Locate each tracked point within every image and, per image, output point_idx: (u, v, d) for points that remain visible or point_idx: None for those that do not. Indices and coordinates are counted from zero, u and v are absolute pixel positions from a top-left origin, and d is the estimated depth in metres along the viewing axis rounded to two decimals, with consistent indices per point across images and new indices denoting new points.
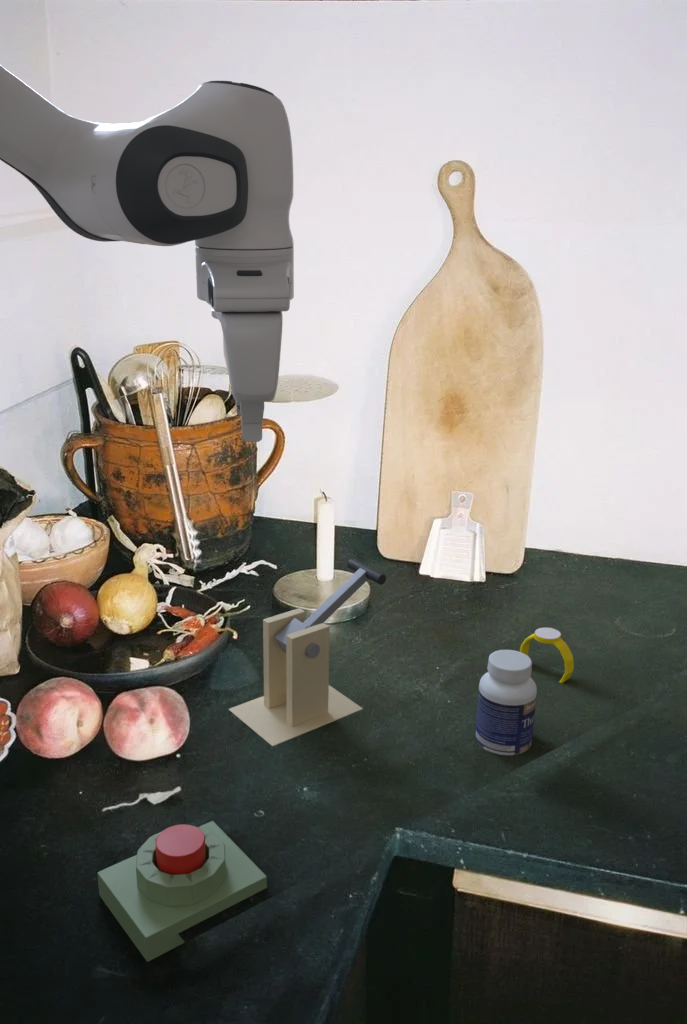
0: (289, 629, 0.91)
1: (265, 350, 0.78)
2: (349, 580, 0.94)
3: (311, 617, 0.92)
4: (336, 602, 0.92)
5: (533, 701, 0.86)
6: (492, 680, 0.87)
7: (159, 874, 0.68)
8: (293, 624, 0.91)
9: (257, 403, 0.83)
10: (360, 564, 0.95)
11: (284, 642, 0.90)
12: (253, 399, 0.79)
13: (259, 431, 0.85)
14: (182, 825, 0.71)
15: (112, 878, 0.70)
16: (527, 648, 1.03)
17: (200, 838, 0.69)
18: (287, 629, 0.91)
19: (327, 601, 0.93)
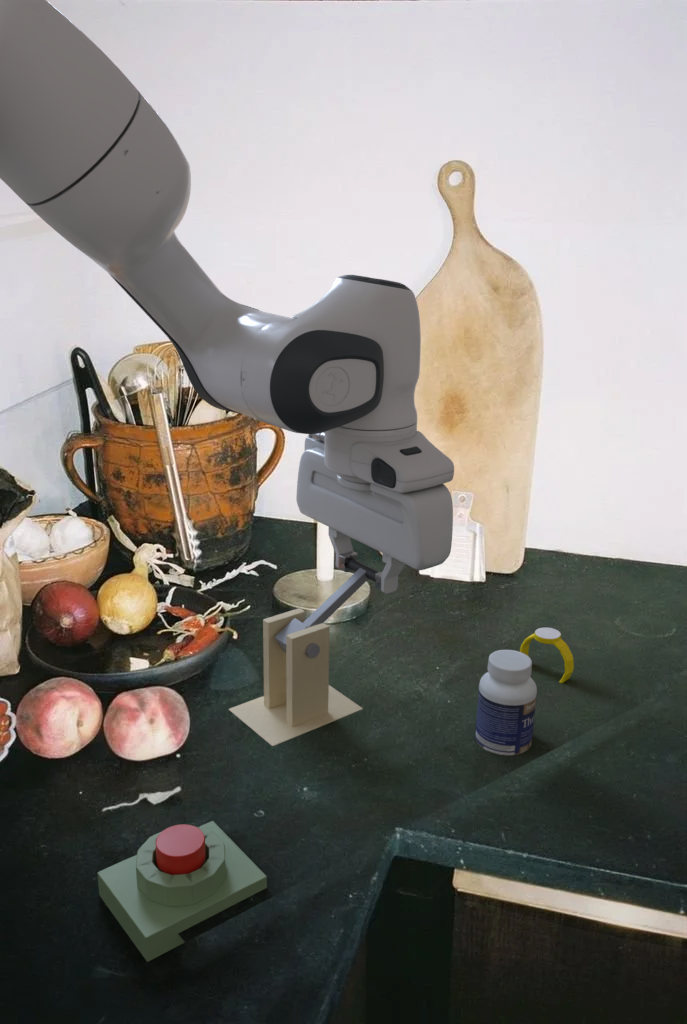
0: (289, 629, 0.91)
1: (444, 521, 0.85)
2: (349, 580, 0.94)
3: (311, 617, 0.92)
4: (336, 602, 0.92)
5: (533, 701, 0.86)
6: (492, 680, 0.87)
7: (159, 874, 0.68)
8: (293, 624, 0.91)
9: None
10: (360, 564, 0.95)
11: (284, 642, 0.90)
12: (433, 565, 0.86)
13: (396, 582, 0.92)
14: (182, 825, 0.71)
15: (112, 878, 0.70)
16: (527, 648, 1.03)
17: (200, 838, 0.69)
18: (287, 629, 0.91)
19: (327, 601, 0.93)
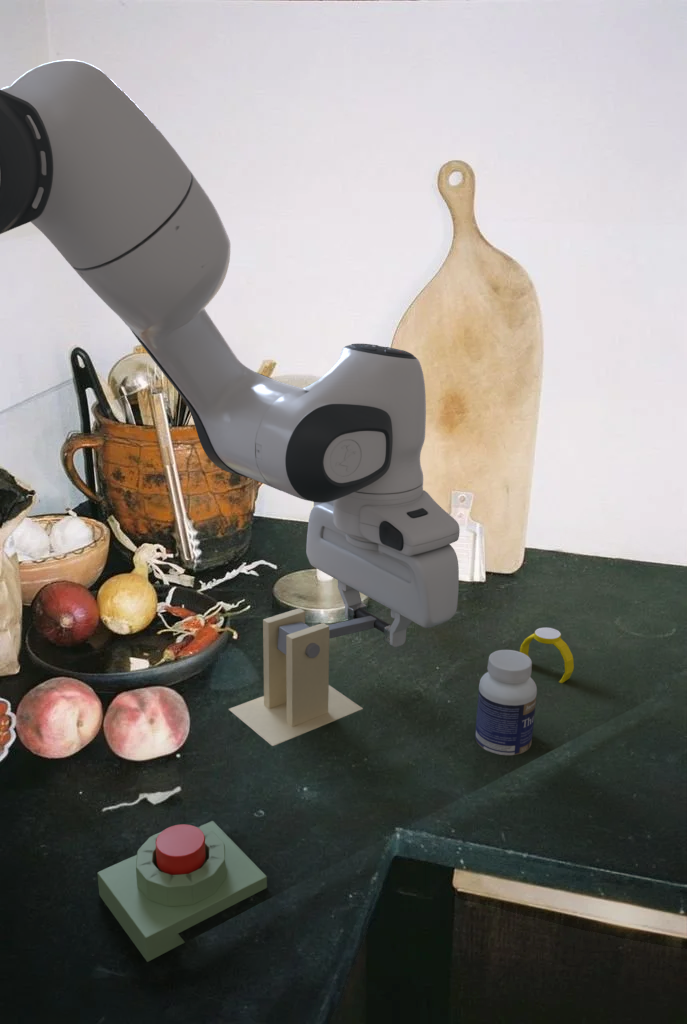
0: (295, 626, 0.91)
1: (451, 581, 0.88)
2: (358, 619, 0.96)
3: None
4: (342, 629, 0.94)
5: (533, 701, 0.86)
6: (492, 680, 0.87)
7: (159, 874, 0.68)
8: (300, 624, 0.92)
9: None
10: None
11: (289, 632, 0.90)
12: (440, 623, 0.89)
13: (404, 635, 0.95)
14: (182, 825, 0.71)
15: (112, 878, 0.70)
16: (527, 648, 1.03)
17: (200, 838, 0.69)
18: (293, 625, 0.91)
19: (334, 624, 0.94)
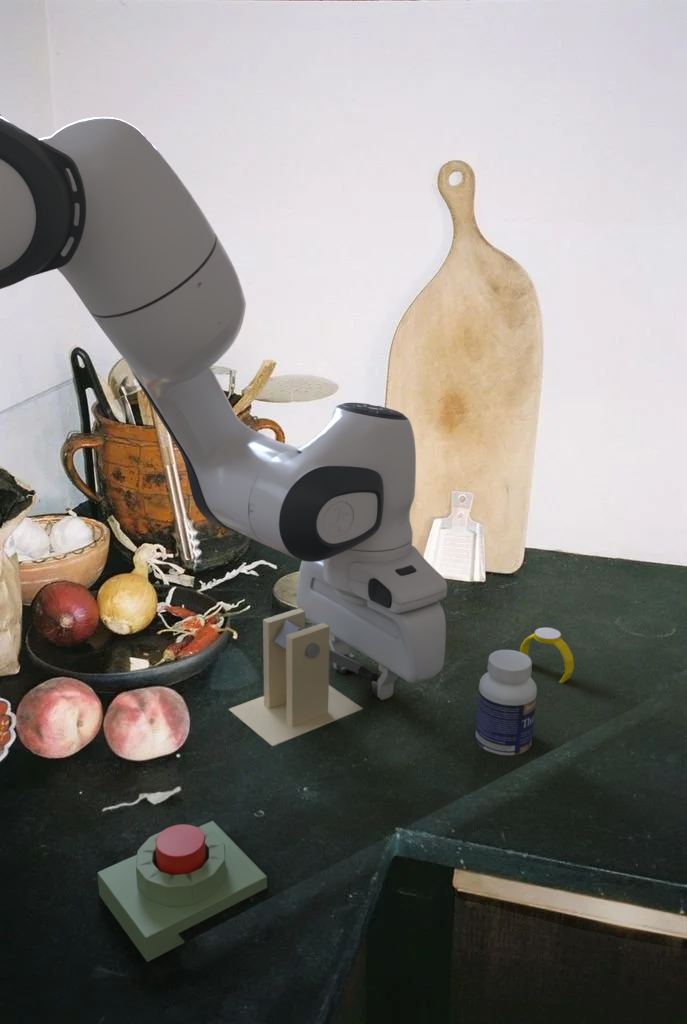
0: (300, 627, 0.92)
1: (438, 638, 0.89)
2: (348, 657, 0.97)
3: None
4: (335, 654, 0.94)
5: (533, 701, 0.86)
6: (492, 680, 0.87)
7: (159, 874, 0.68)
8: None
9: None
10: (357, 661, 0.99)
11: (296, 626, 0.90)
12: (426, 679, 0.90)
13: (392, 688, 0.96)
14: (182, 825, 0.71)
15: (112, 878, 0.70)
16: (527, 648, 1.03)
17: (200, 838, 0.69)
18: (298, 626, 0.92)
19: None
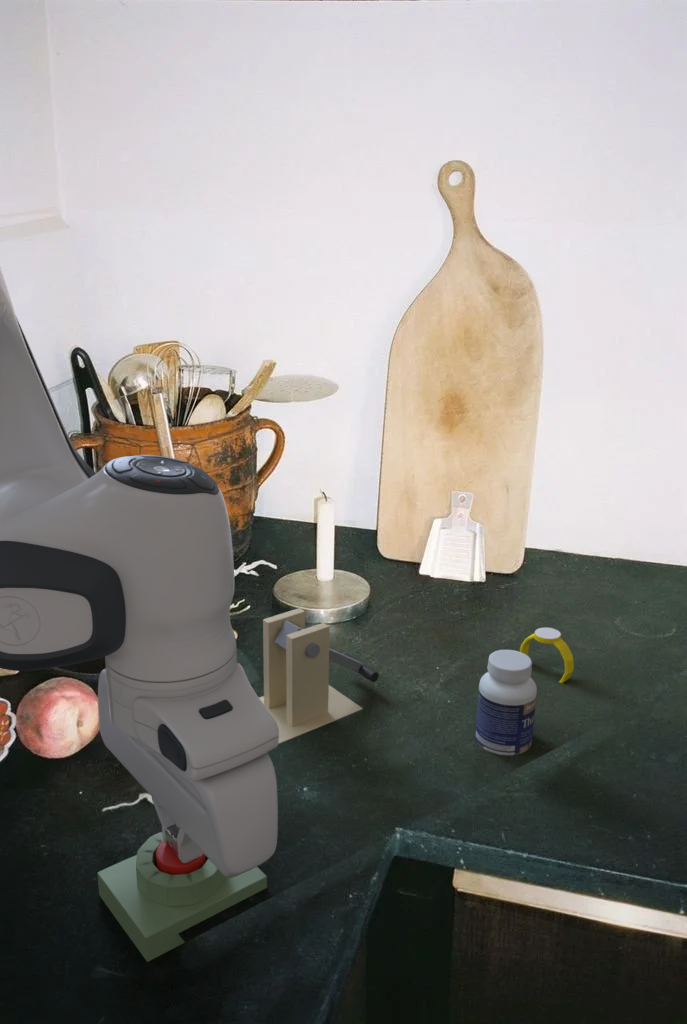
0: (300, 627, 0.92)
1: (263, 810, 0.60)
2: (348, 656, 0.97)
3: None
4: (335, 654, 0.94)
5: (533, 701, 0.86)
6: (492, 680, 0.87)
7: (159, 874, 0.68)
8: (303, 628, 0.92)
9: None
10: None
11: (296, 626, 0.90)
12: (250, 869, 0.61)
13: None
14: None
15: (112, 878, 0.70)
16: (527, 648, 1.03)
17: None
18: (298, 626, 0.92)
19: (329, 648, 0.95)
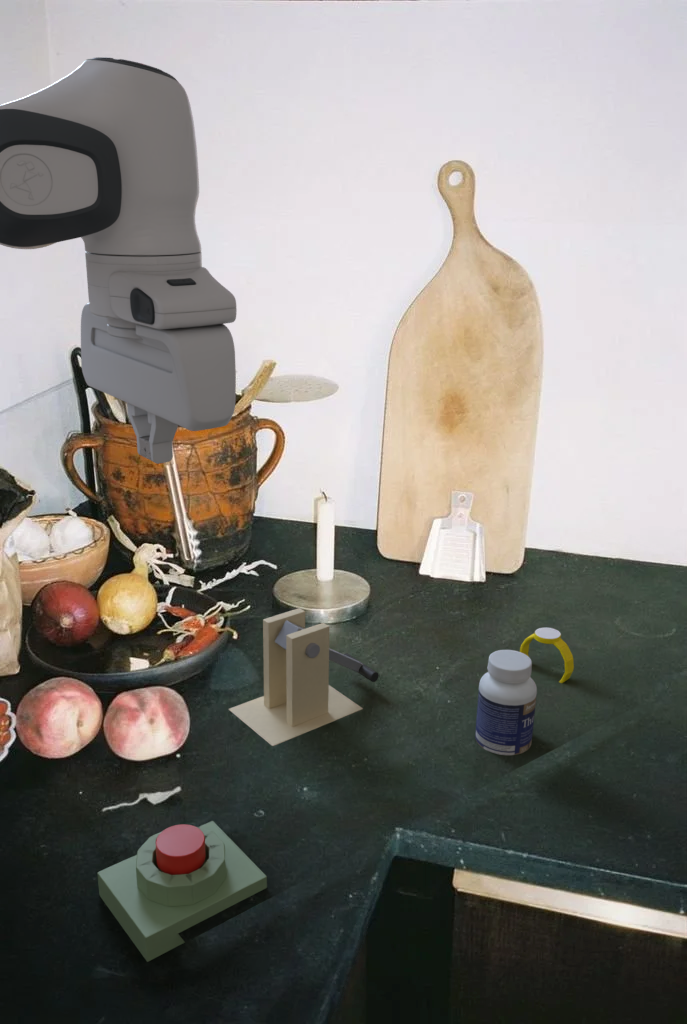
0: (300, 627, 0.92)
1: (222, 369, 0.68)
2: (348, 656, 0.97)
3: None
4: (335, 654, 0.94)
5: (533, 701, 0.86)
6: (492, 680, 0.87)
7: (159, 874, 0.68)
8: (303, 628, 0.92)
9: None
10: None
11: (296, 626, 0.90)
12: (211, 426, 0.69)
13: (170, 450, 0.77)
14: (182, 825, 0.71)
15: (112, 878, 0.70)
16: (527, 648, 1.03)
17: (200, 838, 0.69)
18: (298, 626, 0.92)
19: (329, 648, 0.95)
